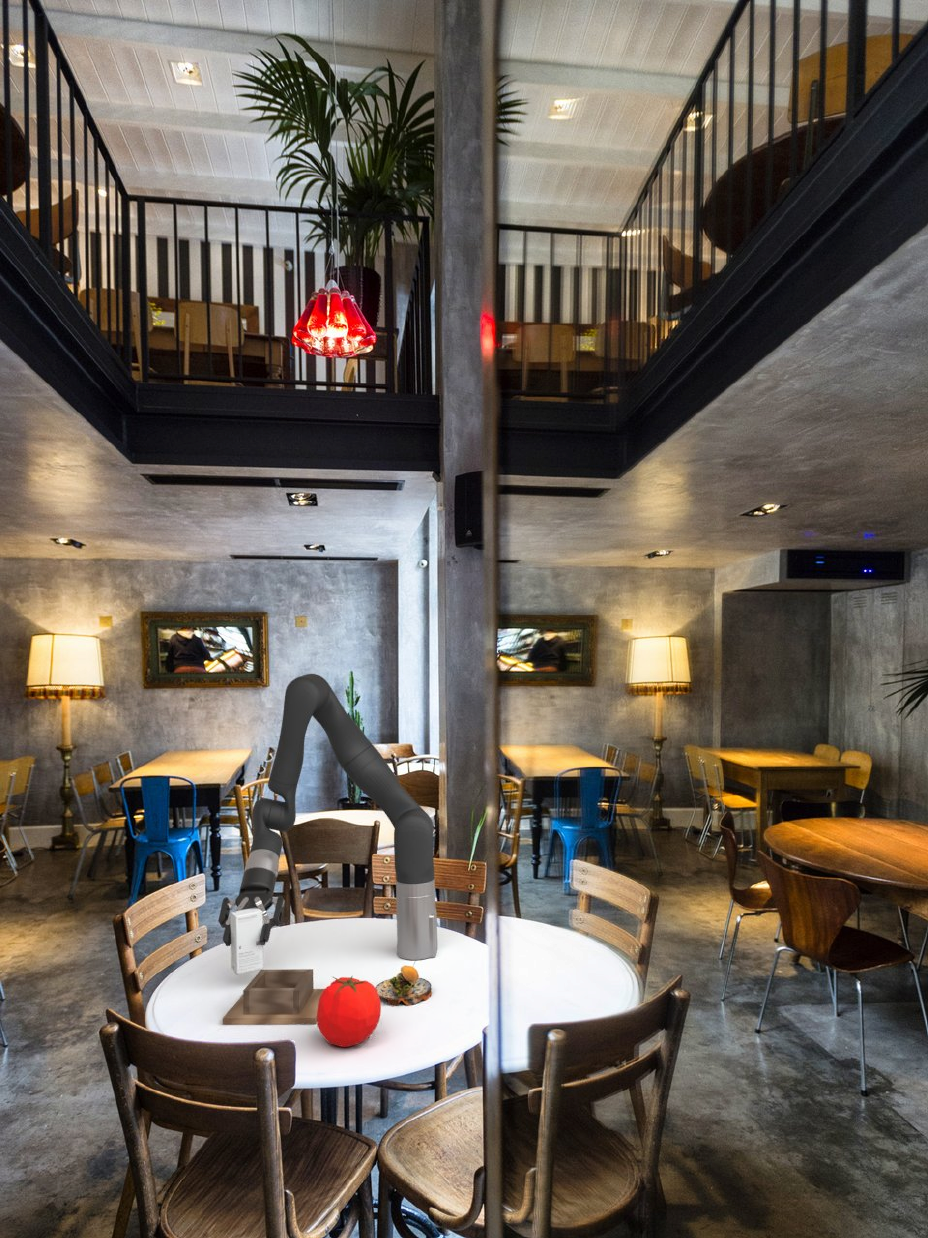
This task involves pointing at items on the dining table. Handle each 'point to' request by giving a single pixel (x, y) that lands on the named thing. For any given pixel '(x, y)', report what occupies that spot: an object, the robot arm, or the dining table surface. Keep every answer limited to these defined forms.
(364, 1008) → the tomato
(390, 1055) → the dining table surface
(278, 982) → the sleeve stand
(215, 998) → the dining table surface
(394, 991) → the plate of food
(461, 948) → the dining table surface
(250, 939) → the skincare box
